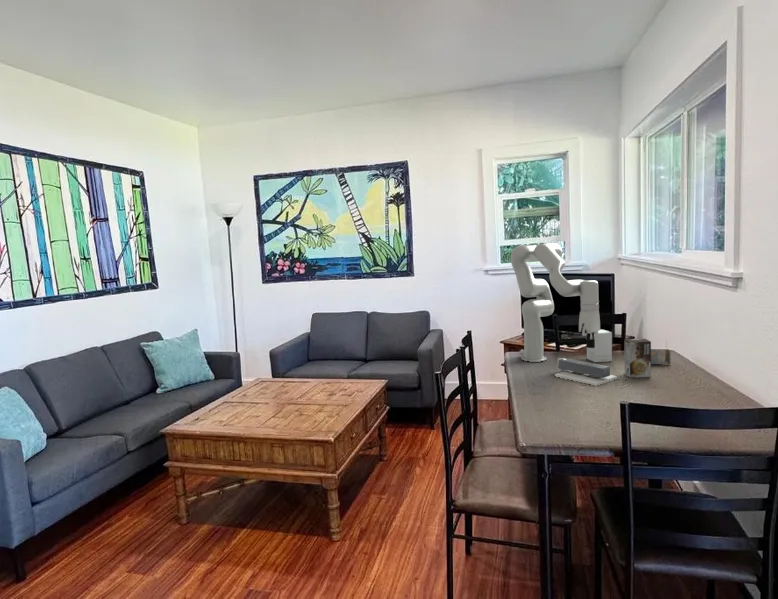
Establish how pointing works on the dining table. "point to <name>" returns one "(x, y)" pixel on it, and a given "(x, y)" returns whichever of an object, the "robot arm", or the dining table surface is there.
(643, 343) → the coffee box
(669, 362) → the blue grey rectangular box
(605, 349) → the supplement box
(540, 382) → the dining table surface
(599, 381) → the label board
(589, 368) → the swing bar
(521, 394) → the dining table surface
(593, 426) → the dining table surface
